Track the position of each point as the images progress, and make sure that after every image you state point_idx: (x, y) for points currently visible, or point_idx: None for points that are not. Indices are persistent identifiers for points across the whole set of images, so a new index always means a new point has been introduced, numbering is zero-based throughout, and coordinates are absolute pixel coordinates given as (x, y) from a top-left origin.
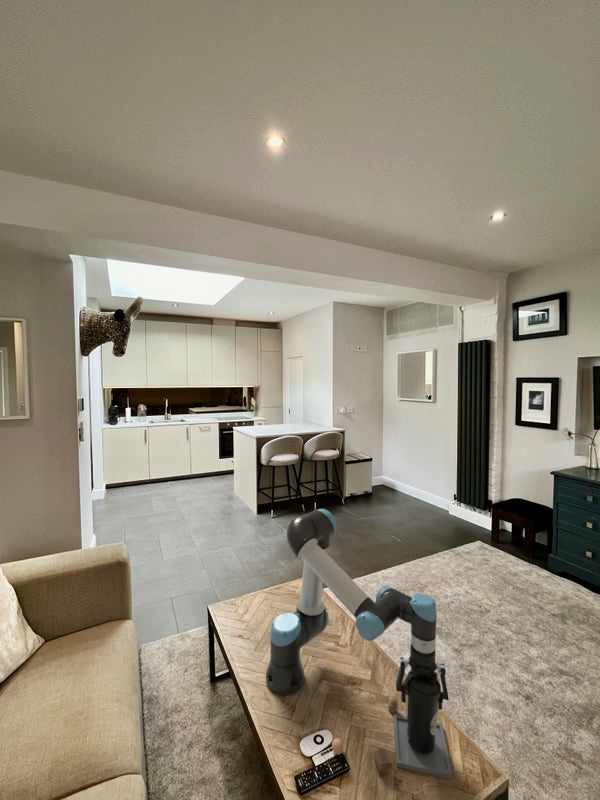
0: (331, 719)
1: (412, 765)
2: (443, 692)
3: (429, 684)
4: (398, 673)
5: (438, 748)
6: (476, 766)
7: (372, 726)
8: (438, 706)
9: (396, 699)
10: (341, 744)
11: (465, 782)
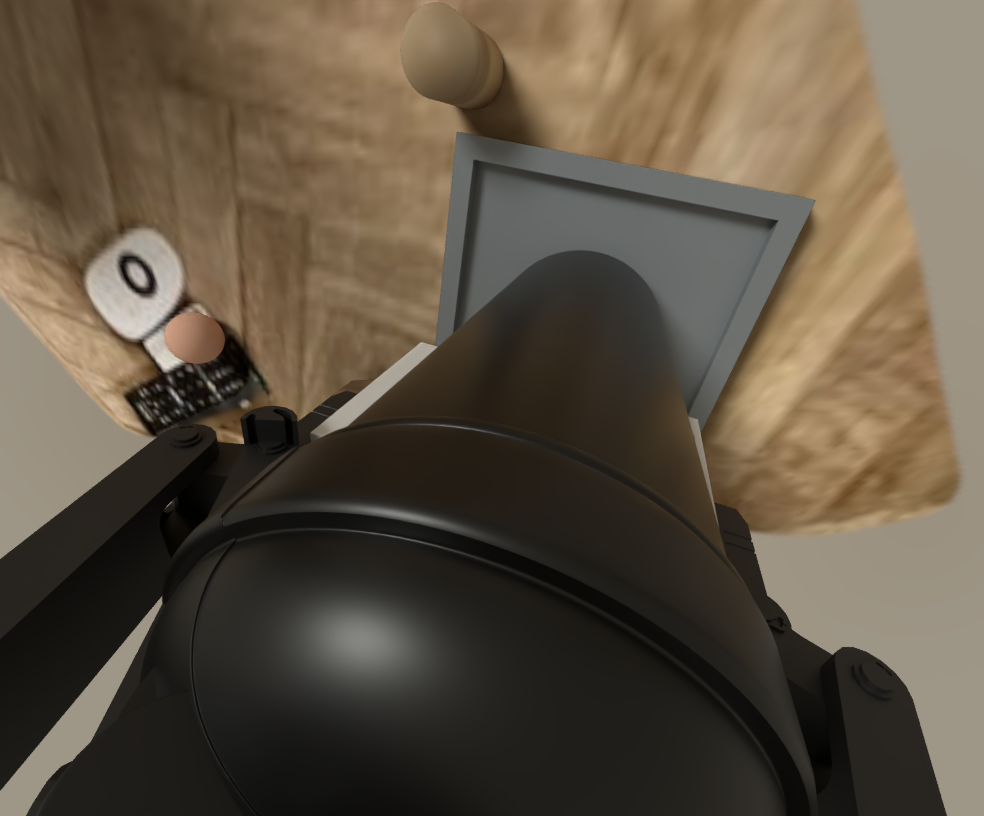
0: (149, 170)
1: None
2: (812, 714)
3: None
4: (7, 571)
5: (678, 356)
6: (860, 446)
7: (341, 206)
8: None
9: (463, 52)
10: (195, 355)
11: (730, 493)
